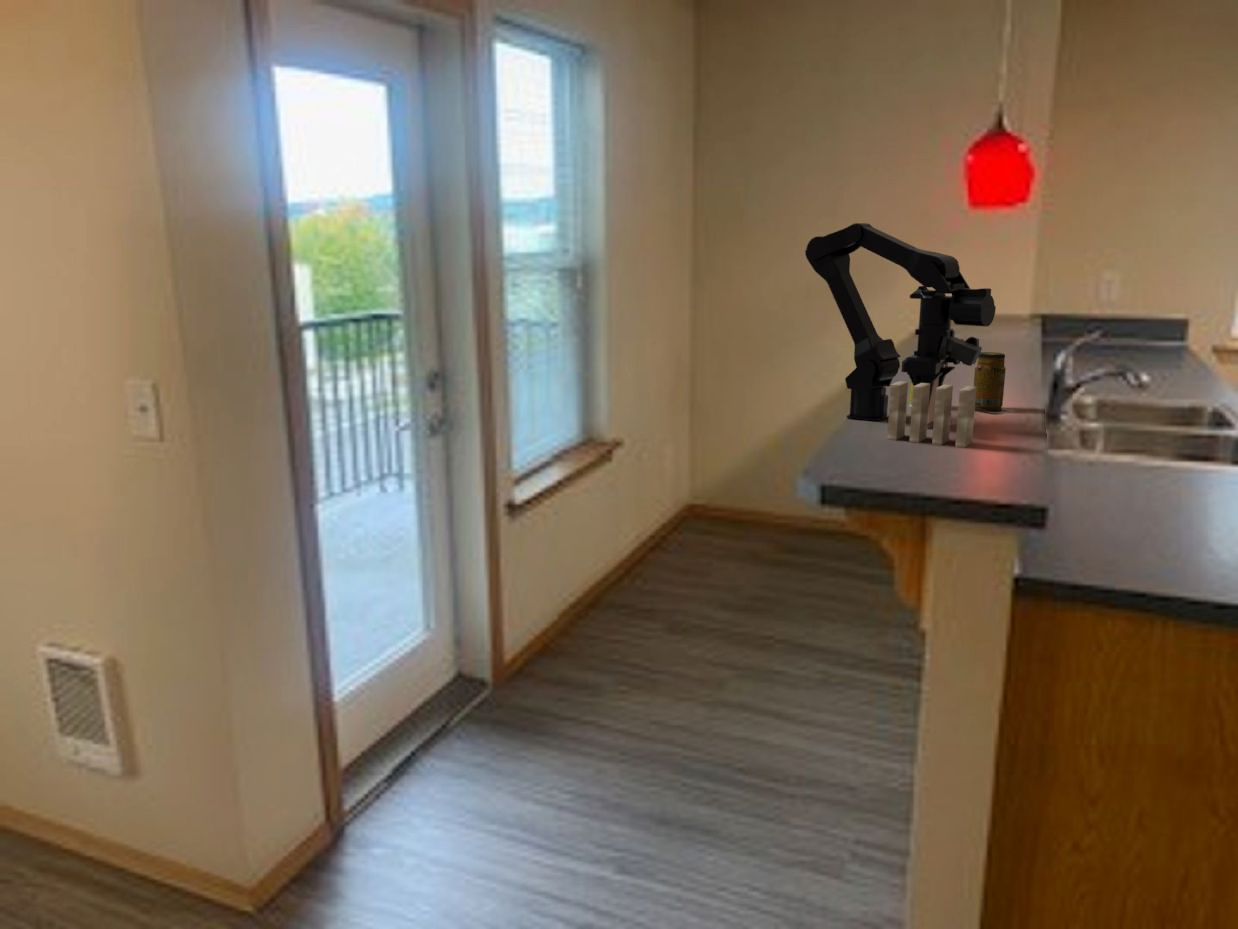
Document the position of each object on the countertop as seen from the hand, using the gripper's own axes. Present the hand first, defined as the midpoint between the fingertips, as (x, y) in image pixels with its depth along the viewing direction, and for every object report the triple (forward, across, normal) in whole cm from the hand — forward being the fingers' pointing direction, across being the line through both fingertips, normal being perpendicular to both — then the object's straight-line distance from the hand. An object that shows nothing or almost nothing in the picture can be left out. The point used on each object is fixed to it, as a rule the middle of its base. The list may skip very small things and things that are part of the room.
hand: (929, 405), depth 177 cm
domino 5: (+4, -13, -10) cm, 17 cm away
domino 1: (+4, -13, +2) cm, 14 cm away
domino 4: (+4, -13, -6) cm, 15 cm away
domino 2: (+4, -13, -2) cm, 14 cm away
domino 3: (+3, 0, 0) cm, 3 cm away
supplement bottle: (+4, +21, +7) cm, 23 cm away
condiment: (+4, +25, -6) cm, 26 cm away
